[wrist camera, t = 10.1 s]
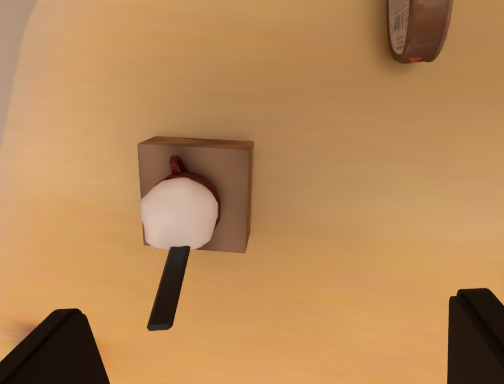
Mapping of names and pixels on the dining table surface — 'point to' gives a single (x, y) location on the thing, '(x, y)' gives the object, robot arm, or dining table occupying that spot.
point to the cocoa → (177, 230)
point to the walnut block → (216, 171)
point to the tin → (417, 28)
